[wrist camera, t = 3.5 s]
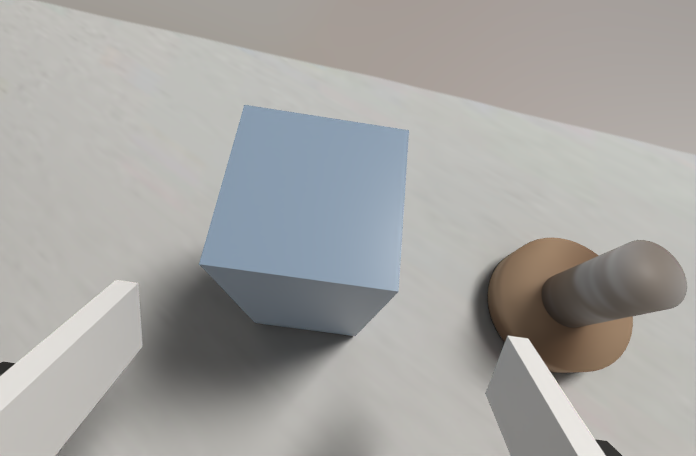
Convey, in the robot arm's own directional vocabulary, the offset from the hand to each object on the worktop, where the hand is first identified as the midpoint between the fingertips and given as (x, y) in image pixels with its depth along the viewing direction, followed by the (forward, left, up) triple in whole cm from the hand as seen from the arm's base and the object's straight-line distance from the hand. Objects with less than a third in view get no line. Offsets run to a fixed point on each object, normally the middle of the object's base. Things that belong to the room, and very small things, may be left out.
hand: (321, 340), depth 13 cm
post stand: (+10, +11, -9) cm, 18 cm away
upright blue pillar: (-3, +3, -9) cm, 10 cm away
